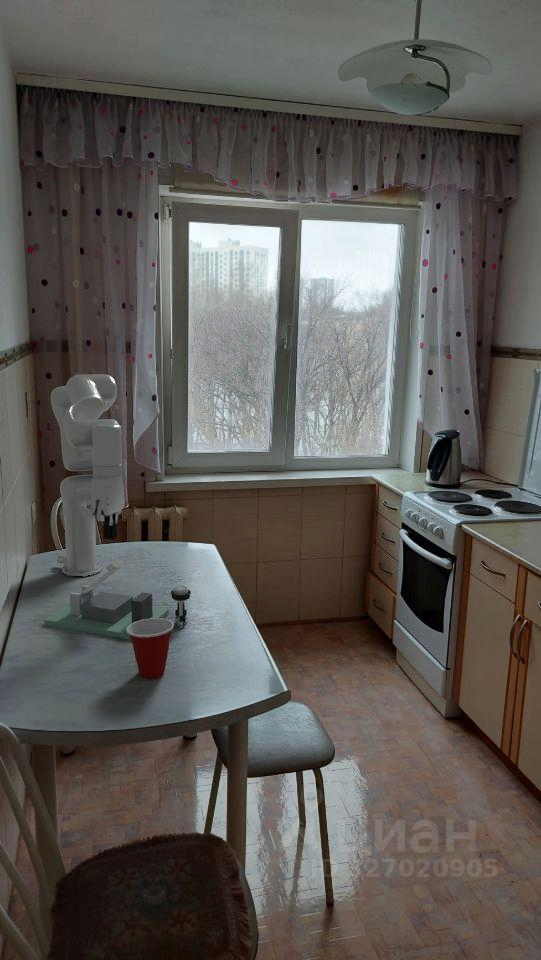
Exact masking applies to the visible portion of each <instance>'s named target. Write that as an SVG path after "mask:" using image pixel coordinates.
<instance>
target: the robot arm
mask: <svg viewBox="0 0 541 960" xmlns="http://www.w3.org/2000/svg"><path fill="white" fill-rule="evenodd" d="M117 396H118V386H117V382H116V380H115V379H114V378H113V377H112V376H111V375H109V374H106V373H105V374H103V373H101V374H100V373H96V374H94V373H93V374H90V373H89V374H83V373H82V374H76V375H73V376H71V377H69V378H68V380H67V382H66V385H63V386H58V387H55V388H54V389H52V390H51V392H50V403H51V404H50V405H51V409H52V411H53V412H52V413H53V414H54V416H55V418H56V421H57V425H58V426H59V432H60V444H61V455H62V463H63V466H64V468H65V469H66V470H67V471H70V472H82V471H83V472H84V471H92V474H79V475H71V476H67V477H65V478H64V479H62V481H61V482H60V486H59V490H60V492H59V493H60V498H61V502H62V509H63V514H64V515H63V516H64V537H65V538H64V539H65V540H64V541H65V554H59V555H58V556H57V560H56V563H59V564H63V566H62V567H61V572H63V573H64V574H63V573H62V574H63V575H65V574H66V575H65V576H67V577H68V576H69V577H73V576H83V577H89V576H88V575H90V576H93V574H94V575H96V573H97V574H98V572H99V573H100V572H101V571H102V570H103V565H102V564H101V563H99V562H98V560H97V559H98V556H97V536H96V535H97V533H96V532H97V530H96V521H97V522H101V525H102V533H103V534H102V535H103V539H104V540H110V541H111V540H112V541H114V540H115V539H118V525H117V523H118V521H119V520H118V519H119V515H120V514H121V513H122V512H123V511H122V510H123V509H124V508H125V500H126V499H125V498H126V497H125V486H124V478H123V476H124V475H123V471H124V470H123V441H122V440H123V439H122V436H123V433H122V426H121V425H120V424H119V422H118V421H117V420H116V419H114V418H112V419H111V418H105V419H104V418H103V419H100V417H101V416H102V415H103V413H104V412H105V413H106V412H107V411H108V410H109V409H110V408H111V407H112V406H113V404H114V403H115V401H116V400H117ZM87 506H90V509H89V508H88V507H87ZM95 515H96V517H95ZM101 569H102V570H101Z"/></svg>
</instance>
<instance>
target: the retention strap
mask: <svg viewBox="0 0 541 960" xmlns="http://www.w3.org/2000/svg"><path fill="white" fill-rule="evenodd" d="M125 565H126V563H125V562H124V561H123V560H122V559H121V558H120V557H119V558H118V559H116V560H115V561H112V562H111V563H110V564H109V565H107V566H106V567H105V569H106V570H107V572H105V573H104V574H103V575H102V576H100V577H99V578H97V579H96V580H95V581H93V583H91V584H90V585H88V586H89V587H87V588H86V589H85V590H84V591H82V590H81V592H80V593H81V597H83V596H85V595H87V594H88V593H89V592H90V591H91V590H92V589H93V590H94V589H95V588H96V587H98V586H99V585H100V584H102V583H103V582H104V581H105V580H107V579H108V578H109V577H111V575H113V574H114V573H116V572H117V571H118V570H119V569H120V568H122V567H123V566H125Z"/></svg>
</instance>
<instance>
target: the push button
mask: <svg viewBox="0 0 541 960" xmlns="http://www.w3.org/2000/svg"><path fill="white" fill-rule="evenodd" d="M191 593H192V592H191V590H190V589H188V587H187V586H184V585H180V586H176V587H174V588H173V589H172V590H171V591H170V595H171V598H172V600H173V601H176V602H177V603H176V604H177V607H176V609H175V612H174V613H175V614H174V615H175V624H177V627H178V628H180V629H181V628H183V627H185V624H187V623H188V621H187V618H188V617H187V612H188V611H187V609H186V608H185V601H187V600H189V599H190V598H191Z"/></svg>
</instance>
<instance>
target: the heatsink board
mask: <svg viewBox="0 0 541 960" xmlns="http://www.w3.org/2000/svg"><path fill="white" fill-rule="evenodd" d="M89 586H90V585H88V584H87V585H86V584H83V585H81V592H82V591H84V590H85V589H86V588H87V587H89ZM81 592H73V591H71V592H70V593H69V603H68V604H66V605H65V606H63V607H62V608H60V609H59V610H57V611H55V612H54V613H52V614H51V615H50V616H47V617H46V618H44V620H43V622H44V624H43V625H44V626H49V627H54V628H61V629H66V630H72V631H77V632H84V633H89V634H90V633H91V634H96V635H101V636H107V637H114V638H120V639H125V640H130V641H131V638H130V636H129V634H128V633H127V630H126V628H127V627H128V626H129V625H130V624H132V623H134V622H136V621H140V620H143V619H150V618H162V619H166V617H168V616H169V615H170V609H169V608H165V607H164V608H163V607H158V606H157V607H156V606H153V594H152V593H149V592H141V593H140V594H137V596H135V597H134V596H132V595H124V594H118V593H112V592H107V591H106V592H104V591H99V592H98V593H97V594H95V595H94V589H92V590H91V591H90V592H89V593H88V594H87V595H85V596H83V597H81Z"/></svg>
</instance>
